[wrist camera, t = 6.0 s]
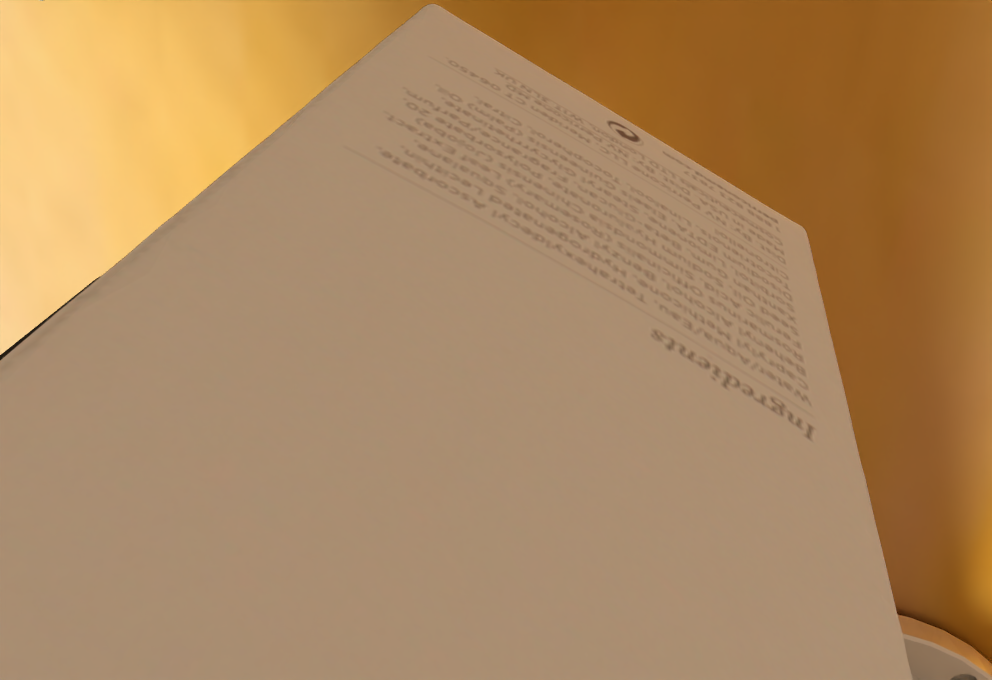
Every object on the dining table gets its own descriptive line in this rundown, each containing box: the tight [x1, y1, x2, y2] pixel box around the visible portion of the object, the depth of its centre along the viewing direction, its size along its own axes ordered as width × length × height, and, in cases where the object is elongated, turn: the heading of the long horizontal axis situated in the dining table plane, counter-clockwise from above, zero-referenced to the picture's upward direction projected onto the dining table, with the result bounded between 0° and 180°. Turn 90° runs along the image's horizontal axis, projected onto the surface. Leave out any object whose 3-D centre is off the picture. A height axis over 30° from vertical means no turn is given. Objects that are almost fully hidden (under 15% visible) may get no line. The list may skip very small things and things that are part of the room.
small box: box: [0, 4, 913, 680], centre depth 9 cm, size 8×6×10 cm
